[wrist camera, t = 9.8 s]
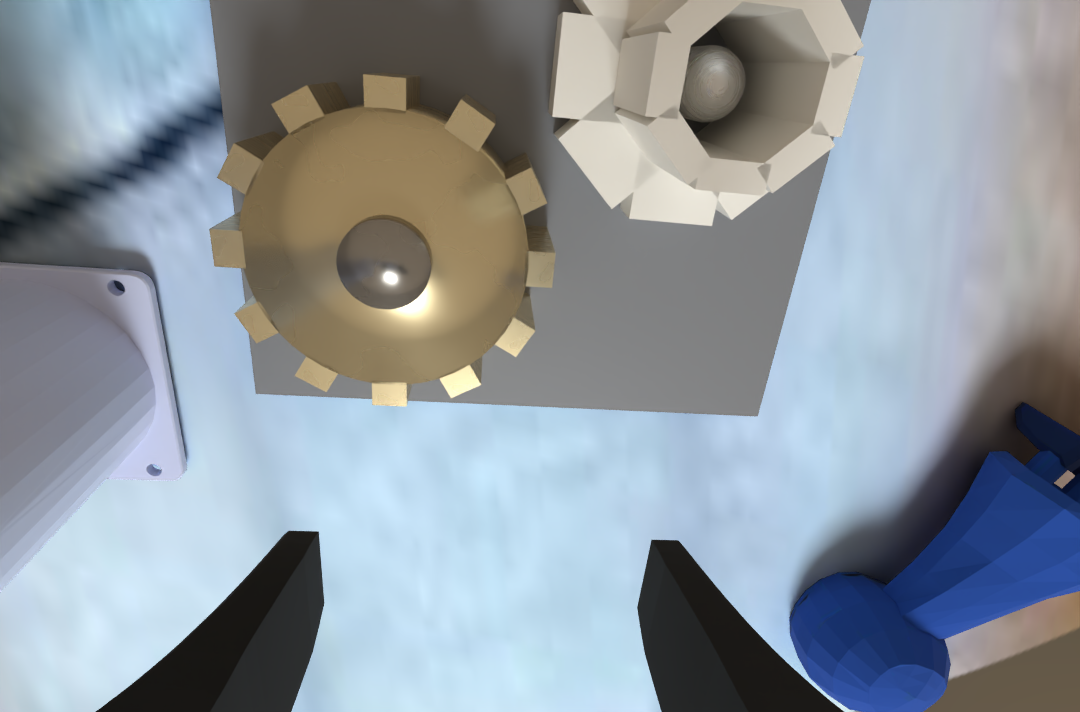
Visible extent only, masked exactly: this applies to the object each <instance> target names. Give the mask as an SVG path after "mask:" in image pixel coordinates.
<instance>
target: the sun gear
mask: <svg viewBox="0 0 1080 712" xmlns="http://www.w3.org/2000/svg"><path fill="white" fill-rule="evenodd" d="M363 86H364V104H361V105H357V106H353V107H350V106H349V104H348V102H347V100H346V98H345V97H344V95H343V93H342V91H341V89H340V88H339V86H338V84H337V82H330V83H321V84H312V85H306V86H304V87H302V88H301V89H299V90H297V91H295V92H293V93H291V94H289V95H288V96H286V97H284V98H282V99H280V100H278V101H276V102H275V103H273V104H271V105H272V107H273V108H274V110H275V112H276V113H277V115H278V116H279V118H280V120H281V121H282V123H283V125H284V126H285V128H286V130H287V131H288V133H289V134H288V135H287V136H286V137H285V138H283V137H282V136H280V135H279V134H277V133H276V132H274V131H272V132H269V133H266V134H262V135H259V136H256V137H252V138H249V139H246V140H242V141H239V142H236V143H234V144H233V146H232V148H231V150H230V152H229V154H228V156H227V158H226V160H225V162H224V165H223V167H222V169H221V171H220V173H219V175H218V177H217V178H218V179H220V180H222V181H223V182H225V183H227V184H228V185H230V186H232V187H233V188H235V189H237V190H238V191H240V192H242V193H243V194H245V197H244V202H243V206H242V210H241V211H240V212H238V213H236V214H235V215H233V216H231V217H229V218H228V219H226V220H224V221H222V222H221V223H219V224H217V225H215V226H214V227H212V228H210V229H209V230H210V237H211V244H212V252H213V259H214V266H216V267H232V268H243V269H244V272H245V275H246V278H247V281H248V284H249V287H250V289H251V291H252V293H253V296H252V297H251V298H250V299H249V300H248V301H247V302H246V303H245V304H244V305H243V306H242V307H241V308H240V309H239V310H238V311H237V312H235V313H234V314H235V315H236V317H237V318H238V319H239V321H240V322H241V323H242V325H243V326H244V327H245V329H246V330H247V331H248V333H249V334H250V335H251V337H252V338H253V339H254V341H255V342H256V343H258V342H261V341H263V340H265V339H267V338H269V337H271V336H273V335H275V334H277V333H280V334H281V335H282V336H283V337H284V338H285V339H286V340H287V341H288V342H289V343H290V344H291V345H292V346H293V347H294V348H296V349H297V350H298V351H300V352H301V353H302V354H304V355H305V356H306V358H305V359H304V361H303V363H302V364H301V366H300V368H299V369H298V371H297V373H296V374H295V376H296V377H298V378H300V379H302V380H304V381H306V382H307V383H309V384H311V385H313V386H315V387H317V388H319V389H321V390H323V391H325V392H327V391H328V389H329V388H330V386H331V384H332V383H333V381H334V380H335V378H336V376H337V375H338V374H340V375H343V376H346V377H349V378H352V379H355V380H360V381H365V382H369V383H372V405H386V406H407V403H408V399H409V395H410V391H411V387H412V384H416V383H424V382H428V381H432V380H436V379H440V381H441V382H442V384H443V385H444V387H445V389H446V390H447V392H448V394H449V395H450V397H451V398H453V397H455V396H457V395H459V394H462V393H464V392H466V391H468V390H471V389H473V388H475V387H477V386H479V385H481V376H482V356H483V355H484V354H485V353H486V352H487V351H488V350H489V349H490V348H492V347H493V346H494V345H497V346H498V347H500V348H502V349H503V350H505V351H507V352H508V353H510V354H512V355H513V356H515V357H516V356H517V355H518V354H519V352H520V351H521V350H522V348H523V347H524V346H525V344H526V343H527V341H528V340H529V339H530V337H531V336H532V335H533V333H534V332H535V324H534V318H533V311H532V304H531V298H530V295H529V294H527V293H525V292H524V291H525V288H526V286H529V287H545V288H552V284H553V274H554V264H555V255H556V253H555V249H554V246H553V243H552V240H551V237H550V234H549V231H548V227H542V226H529V225H525V222H524V216H523V215H524V214H526V213H528V212H530V211H532V210H534V209H536V208H538V207H540V206H543V205H545V204H547V201H546V198H545V196H544V193H543V190H542V188H541V185H540V183H539V180H538V178H537V176H536V174H535V172H534V169H533V167H532V165H531V163H530V161H529V158H528V156H527V154H526V153H524V154H522V155H520V156H518V157H516V158H514V159H512V160H510V161H508V162H506V163H503V162H502V160H501V159H500V158H499V156H498V155H497V153H496V152H495V151H494V149H493V148H492V147H491V146H490V145H489V144H488V143H487V142H486V141H485V140H486V139H487V137H488V135H489V134H490V132H491V131H492V129H493V127H494V126H495V124H496V119H495V115H494V114H493V113H492V112H490V111H489V110H488V109H486V108H485V107H483V106H482V105H481V104H479V103H478V102H477V101H475V100H474V99H473V98H471V97H470V96H468V95H467V94H466V95H465V96H464V97H463V98H462V99H461V100H460V102H459V103H458V105H457V107H456V108H455V110H454V112H453V113H452V115H449V114H446V113H444V112H442V111H440V110H437V109H435V108H431V107H428V106H425V105H421V104H420V76H414V75H403V74H393V73H372V74H363Z"/></svg>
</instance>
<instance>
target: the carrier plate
mask: <svg viewBox="0 0 1080 712" xmlns="http://www.w3.org/2000/svg"><path fill="white" fill-rule="evenodd" d="M841 2H842V4H843V6H844V8H845V10H846V12H847V14H848V16H849V18H850V20H851V22H852V24H853V26H854V28H855V30H856V32H857V34H858V36H859V37H860V39H861V35H862V32H863V28H864V24H865V21H866V17H867V13H868V10H869V6H870V2H871V0H841ZM210 8H211V16H212V25H213V33H214V42H215V50H216V59H217V67H218V76H219V84H220V93H221V101H222V110H223V118H224V127H225V135H226V144H227V152H228V154H229V152H230V150H231V148H232V146H233V144H234V143H236V142H239V141H242V140H246V139H249V138H252V137H256V136H259V135H262V134H266V133H269V132H272V131H274V132H276V133H277V134H279V135H280V136H282V137H283V138H285V137H286V136H287V135H288V134H289V133H288V131H287V130H286V128H285V126H284V125H283V123H282V121H281V120H280V118H279V116H278V115H277V113H276V112H275V110H274V108H273V107H272V105H271V104H273V103H275V102H276V101H278V100H280V99H282V98H284V97H286V96H288V95H289V94H291V93H293V92H295V91H297V90H299V89H301V88H302V87H304V86H306V85H312V84H321V83H330V82H337V84H338V86H339V88H340V89H341V91H342V93H343V95H344V97H345V98H346V100H347V102H348V104H349V106H350V107H353V106H357V105H361V104H364V86H363V74H372V73H393V74H403V75H414V76H420V104H421V105H425V106H428V107H431V108H435V109H437V110H440V111H442V112H444V113H446V114H449V115H452V113H453V112H454V110H455V108H456V107H457V105H458V103H459V102H460V100H461V99H462V98H463V97H464V96H465V95H466V94H467V95H468V96H470V97H471V98H473V99H474V100H475V101H477V102H478V103H479V104H481V105H482V106H483V107H485V108H486V109H488V110H489V111H490V112H492V113H493V114H494V115H495V119H496V124H495V126H494V127H493V129H492V131H491V132H490V134H489V135H488V137H487V139H486V140H485V141H486V142H487V143H488V144H489V145H490V146H491V147H492V148H493V149H494V151H495V152H496V153H497V155H498V156H499V158H500V159H501V160H502V162H503V163H506V162H508V161H510V160H512V159H514V158H516V157H518V156H520V155H522V154H524V153H526V154H527V156H528V158H529V161H530V163H531V165H532V167H533V169H534V172H535V174H536V176H537V178H538V180H539V183H540V185H541V188H542V190H543V193H544V196H545V198H546V201H547V204H545V205H543V206H540V207H538V208H536V209H534V210H532V211H530V212H528V213H526V214H524V215H523V216H524V222H525V225H529V226H542V227H548V231H549V234H550V237H551V240H552V243H553V246H554V249H555V253H556V255H555V264H554V274H553V284H552V288H545V287H529V286H526V288H525V291H524V292H525V293H527V294H529V295H530V298H531V304H532V311H533V318H534V324H535V332H534V333H533V335H532V336H531V337H530V339H529V340H528V341H527V343H526V344H525V346H524V347H523V348H522V350H521V351H520V352H519V354H518V355H517V356H516V357H515V356H513V355H512V354H510V353H508V352H507V351H505V350H503V349H502V348H500V347H498V346H497V345H494V346H493V347H492V348H490V349H489V350H488V351H487V352H486V353H485V354H484V355H483V356H482V376H481V385H479V386H477V387H475V388H473V389H471V390H468V391H466V392H464V393H462V394H459V395H457V396H455V397H453V398H451V397H450V395H449V394H448V392H447V390H446V389H445V387H444V385H443V384H442V382H441V381H440V379H436V380H432V381H428V382H424V383H416V384H412V387H411V391H410V395H409V399H408V401H428V402H451V403H473V404H495V405H517V406H539V407H561V408H583V409H606V410H628V411H650V412H672V413H694V414H716V415H738V416H758V413H759V409H760V405H761V402H762V398H763V394H764V391H765V387H766V383H767V380H768V376H769V372H770V369H771V365H772V361H773V358H774V354H775V350H776V347H777V343H778V339H779V336H780V332H781V328H782V325H783V321H784V317H785V314H786V310H787V306H788V303H789V299H790V295H791V292H792V288H793V284H794V281H795V277H796V273H797V270H798V266H799V262H800V259H801V255H802V251H803V248H804V244H805V240H806V237H807V233H808V229H809V226H810V222H811V218H812V215H813V211H814V207H815V204H816V200H817V197H818V193H819V189H820V186H821V182H822V178H823V175H824V171H825V167H826V164H827V160H828V156H829V153H830V150H829V151H828V152H826V153H825V154H824V155H822V156H821V157H820V158H818V159H817V160H816V161H815V162H813V163H812V164H811V165H809V166H808V167H807V168H805V169H804V170H803V171H801V172H800V173H799V174H797V175H796V176H795V177H793V178H792V179H791V180H790V181H788V182H787V183H786V184H784V185H783V186H782V187H780V188H779V189H778V190H776V191H775V192H774V193H771V192H768V193H766V194H765V195H764V196H763V197H761V198H760V199H759V200H757V201H756V202H755V203H753V204H752V205H751V206H749V207H748V208H747V209H745V210H744V211H743V212H742V213H740V214H739V215H738V216H736V217H735V218H734V219H732V220H731V219H729V218H728V217H726V216H725V215H723V214H722V213H720V212H719V211H717V210H715V214H714V219H713V223H712V226H705V225H694V224H683V223H672V222H660V221H649V220H638V219H629V218H628V217H627V216H626V214H625V213H624V212H623V211H622V210H621V209H620V205H621V202H620V203H619V204H618V205H616V206H615V207H614V208H613V209H611V207H610V206H609V205H608V204H607V203H606V201H605V200H604V199H603V197H602V196H601V195H600V194H599V192H598V191H597V190H596V188H595V187H594V186H593V184H592V183H591V182H590V180H589V179H588V178H587V176H586V175H585V174H584V173H583V171H582V170H581V169H580V167H579V166H578V165H577V163H576V162H575V161H574V159H573V158H572V157H571V155H570V154H569V153H568V152H567V150H566V149H565V148H564V146H563V145H562V144H561V142H560V141H559V140H558V138H557V137H556V136H555V134H554V133H555V132H556V131H557V130H558V129H560V128H561V127H562V126H563V125H564V124H565V123H566V122H568V121H569V120H570V118H560V117H552V116H551V115H550V114H549V113H548V109H549V99H550V89H551V79H552V69H553V59H554V49H555V39H556V29H557V19H558V15H560V14H561V13H562V12H569V13H577V14H582V13H581V12H580V10H579V9H578V7H577V6H576V4H575V3H574V1H573V0H210ZM706 45H717V46H722V47H725V48H727V49H729V48H728V47H727V45H726V43H725V42H724V40H723V38H722V37H721V35H720V33H719V32H718V30H717V28H716V27H715V25H714V26H713V27H712V28H711V29H710V30H709V31H707V32H706V33H705V34H704V35H703V36H701V37H700V38H699V39H698V40H697V41H696V42H694V43H693V44H692V45H691V47H695V46H706ZM856 54H857V52H856V53H854V54H853V55H856ZM684 119H685V121H686V122H687V124H688V125H689V127H690V128H691V130H692V131H693V133H694V134H695V135H696V134H697V133H698V132H699V131H701V130H702V129H703V128H704V127H706V126H707V125H708V124H709V123H711V122H697V121H693V120H690V119H686V118H684ZM830 138H831V140H832V141H833V138H834V136H830ZM232 195H233V203H234V212H235V214H236V213H238V212H240V211H241V210H242V206H243V202H244V197H245V194H243V193H242V192H240V191H238V190H237V189H235V188H233V187H232ZM241 271H242V280H243V288H244V297H245V303H246V302H247V301H248V300H249V299H250V298H251V297H252V296H253V293H252V291H251V289H250V287H249V284H248V281H247V278H246V275H245V272H244V269H243V268H241ZM249 339H250V348H251V356H252V364H253V373H254V381H255V390H256V394H273V395H296V396H318V397H340V398H362V399H372V383H369V382H365V381H360V380H355V379H352V378H349V377H346V376H343V375H340V374H338V375H337V376H336V378H335V380H334V381H333V383H332V384H331V386H330V388H329V389H328V391H327V392H325V391H323V390H321V389H319V388H317V387H315V386H313V385H311V384H309V383H307V382H306V381H304V380H302V379H300V378H298V377H296V376H295V374H296V373H297V371H298V369H299V368H300V366H301V364H302V363H303V361H304V359H305V358H306V356H305V355H304V354H302V353H301V352H300V351H298V350H297V349H296V348H294V347H293V346H292V345H291V344H290V343H289V342H288V341H287V340H286V339H285V338H284V337H283V336H282V335H281V334H280V333H277V334H275V335H273V336H271V337H269V338H267V339H265V340H263V341H261V342H258V343H256V342H255V341H254V339H253V338H252V337H251V335H250V334H249Z"/></svg>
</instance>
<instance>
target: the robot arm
mask: <svg viewBox="0 0 1080 712" xmlns="http://www.w3.org/2000/svg"><path fill="white" fill-rule="evenodd" d="M114 280H116V281H119V282H121V283H122V284H123V286H124V288H125V292H123V291H120V290H118V289H117V288H116V286H115V284H114ZM152 464H155V465H158V466H159V467H160V468H161V470H159V469H156V468H155V467H153V465H152ZM186 470H187V463H186V457H185V452H184V446H183V441H182V435H181V429H180V424H179V418H178V413H177V407H176V402H175V396H174V391H173V385H172V380H171V374H170V369H169V363H168V358H167V352H166V346H165V341H164V335H163V330H162V324H161V319H160V313H159V308H158V302H157V297H156V291H155V286H154V284H153V281H152V280H151V279H150V277H149V276H148V275H146V274H144V273H143V272H139V271H134V270H118V269H102V268H86V267H70V266H54V265H38V264H22V263H6V262H0V592H1V591H2V590H3V589H4V588H5V587H6V586H7V585H8V584H9V583H10V582H11V581H12V580H13V579H14V577H15V576H16V575H17V574H18V573H19V572H20V571H21V570H22V569H23V568H24V567H25V566H26V565H27V564H28V562H29V561H30V560H31V559H32V558H33V557H34V556H35V555H36V554H37V553H38V552H39V551H40V550H41V549H42V548H43V546H44V545H45V544H46V543H47V542H48V541H49V540H50V539H51V538H52V537H53V536H54V535H55V534H56V533H57V532H58V530H59V529H60V528H61V527H62V526H63V525H64V524H65V523H66V522H67V521H68V520H69V519H70V518H71V517H72V516H73V514H74V513H75V512H76V511H77V510H78V509H79V508H80V507H81V506H82V505H83V504H84V503H85V502H86V501H87V500H88V498H89V497H90V496H91V495H92V494H93V493H94V492H95V491H96V490H97V489H98V488H99V487H100V486H101V485H102V484H103V482H104V481H105V480H106V479H123V480H155V481H175V480H178V479H180V478H181V477H182V476H183V474H184V473H185V472H186ZM323 606H324V595H323V582H322V570H321V557H320V544H319V532H312V531H288V532H287V533H286V534H285V535H283V537H282V538H281V539H280V540H279V541H278V542H277V543H276V545H275V546H274V547H273V548H272V549H271V550H270V551H269V553H268V554H267V555H266V556H265V557H264V558H263V559H262V561H261V562H260V563H259V564H258V565H257V566H256V567H255V568H254V569H253V570H252V572H251V573H250V574H249V575H248V576H247V577H246V578H245V579H244V580H243V581H242V582H241V583H240V584H239V586H238V587H237V588H236V589H235V590H234V591H233V592H232V593H231V594H230V595H229V596H228V597H227V598H226V599H225V600H224V601H223V602H222V603H221V604H220V605H219V606H218V607H217V608H216V609H215V610H214V611H213V612H212V613H211V614H210V615H209V616H208V617H207V618H206V619H205V620H204V621H203V622H202V623H201V624H200V625H199V626H198V627H197V628H196V629H194V630H193V631H192V632H191V633H190V634H189V635H188V636H187V637H186V638H185V639H184V640H183V641H182V642H181V643H180V644H179V645H177V646H176V647H175V648H174V649H173V650H172V651H171V652H170V653H168V654H167V655H166V656H165V657H164V658H163V659H162V660H160V661H159V662H158V663H157V664H156V665H155V666H153V667H152V668H151V669H150V670H149V671H147V672H146V673H145V674H144V675H143V676H141V677H140V678H139V679H138V680H136V681H135V682H134V683H133V684H132V685H130V686H129V687H128V688H126V689H125V690H124V691H122V692H121V693H120V694H119V695H117V696H116V697H115V698H113V699H112V700H111V701H109V702H108V703H107V704H106V705H104V706H103V707H102V708H100V709H99V710H97V711H96V712H291V711H292V708H293V705H294V702H295V700H296V697H297V694H298V691H299V689H300V686H301V683H302V680H303V677H304V675H305V672H306V669H307V666H308V664H309V661H310V658H311V655H312V652H313V648H314V644H315V640H316V636H317V632H318V628H319V624H320V619H321V615H322V611H323ZM637 609H638V615H639V621H640V628H641V634H642V640H643V645H644V651H645V655H646V659H647V663H648V666H649V670H650V673H651V677H652V680H653V684H654V687H655V691H656V694H657V697H658V701H659V704H660V708H661V711H662V712H844V711H842V710H841V709H840V708H839V707H837V706H836V705H835V704H833V703H832V702H831V701H830V700H829V699H827V698H826V697H825V696H824V695H823V694H821V693H820V692H819V691H818V690H817V689H816V688H814V687H813V686H812V685H811V684H810V683H809V682H808V681H807V680H805V679H804V678H803V677H802V676H801V675H800V674H799V673H798V672H797V671H795V670H794V669H793V668H792V667H791V666H790V665H789V664H788V663H787V662H786V661H785V660H784V659H783V658H781V657H780V656H779V655H778V654H777V653H776V652H775V651H774V650H773V649H772V648H771V647H770V646H769V645H768V644H767V643H766V642H765V640H764V639H763V638H762V637H761V636H760V635H759V634H758V633H757V632H756V631H755V630H754V629H753V628H752V627H751V626H750V625H749V624H748V623H747V621H746V620H745V619H744V618H743V617H742V616H741V615H740V614H739V612H738V611H737V610H736V609H735V608H734V607H733V606H732V604H731V603H730V602H729V601H728V600H727V599H726V598H725V596H724V595H723V594H722V593H721V592H720V591H719V589H718V588H717V587H716V586H715V585H714V583H713V582H712V581H711V580H710V579H709V577H708V576H707V575H706V574H705V572H704V571H703V570H702V569H701V568H700V566H699V565H698V564H697V563H696V561H695V560H694V559H693V558H692V556H691V555H690V554H689V553H688V551H687V550H686V549H685V548H684V547H683V545H682V544H681V543H680V542H679V541H677V540H652V541H651V545H650V550H649V555H648V560H647V564H646V569H645V574H644V579H643V583H642V588H641V593H640V598H639V602H638V607H637Z"/></svg>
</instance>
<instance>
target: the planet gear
mask: <svg viewBox="0 0 1080 712" xmlns="http://www.w3.org/2000/svg"><path fill="white" fill-rule="evenodd" d="M573 1H574V3H575V4H576V6H577V7H578V9H579V10H580V12H581V13H582V14H577V13H569V12H562V13H561V14H560V15H558V19H557V29H556V39H555V49H554V59H553V69H552V79H551V89H550V99H549V109H548V113H549V114H550V115H551V116H552V117H560V118H570V120H569V121H568V122H566V123H565V124H564V125H563V126H562V127H561V128H560V129H558V130H557V131H556V132H555V133H554V134H555V136H556V137H557V138H558V140H559V141H560V142H561V144H562V145H563V146H564V148H565V149H566V150H567V152H568V153H569V154H570V155H571V157H572V158H573V159H574V161H575V162H576V163H577V165H578V166H579V167H580V169H581V170H582V171H583V173H584V174H585V175H586V176H587V178H588V179H589V180H590V182H591V183H592V184H593V186H594V187H595V188H596V190H597V191H598V192H599V194H600V195H601V196H602V197H603V199H604V200H605V201H606V203H607V204H608V205H609V206H610V207H611V209H613V208H614V207H615V206H616V205H618V204H619V203H620V202H621V205H620V209H621V210H622V211H623V212H624V213H625V214H626V216H627V217H628V218H629V219H638V220H649V221H660V222H672V223H683V224H694V225H705V226H712V223H713V219H714V214H715V210H717V211H719V212H720V213H722V214H723V215H725V216H726V217H728V218H729V219H731V220H732V219H734V218H735V217H736V216H738V215H739V214H740V213H742V212H743V211H744V210H745V209H747V208H748V207H749V206H751V205H752V204H753V203H755V202H756V201H757V200H759V199H760V198H761V197H763V196H764V195H765V194H766V193H768V192H771V193H774V192H775V191H776V190H778V189H779V188H780V187H782V186H783V185H784V184H786V183H787V182H788V181H790V180H791V179H792V178H793V177H795V176H796V175H797V174H799V173H800V172H801V171H803V170H804V169H805V168H807V167H808V166H809V165H811V164H812V163H813V162H815V161H816V160H817V159H818V158H820V157H821V156H822V155H824V154H825V153H826V152H828V151H829V150H830V149H832V148H833V147H834V146H835V145H834V143H833V141H832V140H831V138H830V136H834V137H841V136H842V132H843V129H844V125H845V122H846V118H847V115H848V112H849V108H850V105H851V101H852V98H853V94H854V91H855V87H856V84H857V80H858V77H859V74H860V70H861V67H862V63H863V60H864V56H856V55H853V54H854V53H856V52H857V51H858V50H859V49H861V48H862V47H863V46H864V45H863V43H862V41H861V39H860V37H859V36H858V34H857V32H856V30H855V28H854V26H853V24H852V22H851V20H850V18H849V16H848V14H847V12H846V10H845V8H844V6H843V4H842V2H841V0H573ZM714 25H715V27H716V28H717V30H718V32H719V33H720V35H721V37H722V38H723V40H724V42H725V43H726V45H727V47H728V48H729V50H730V51H732V52H733V53H734V54H735V55H736V56H737V57H738V58H739V60H740V61H741V63H742V65H743V68H744V72H745V88H744V92H743V95H742V97H741V99H740V101H739V103H738V104H737V106H736V107H735V108H734V109H733V110H732V111H731V112H730V113H729V114H728V115H726V116H725V117H723V118H721V119H719V120H716V121H713V122H711V123H709V124H708V125H707V126H706V127H704V128H703V129H702V130H701V131H699V132H698V133H697V134H696V135H695V134H694V133H693V131H692V130H691V128H690V127H689V125H688V124H687V122H686V121H685V119H684V118H683V116H682V115H681V113H680V112H679V107H680V102H681V96H682V91H683V85H684V80H685V74H686V69H687V64H688V58H689V53H690V47H691V45H692V44H693V43H694V42H696V41H697V40H698V39H699V38H700V37H701V36H703V35H704V34H705V33H706V32H707V31H709V30H710V29H711V28H712V27H713V26H714Z"/></svg>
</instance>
